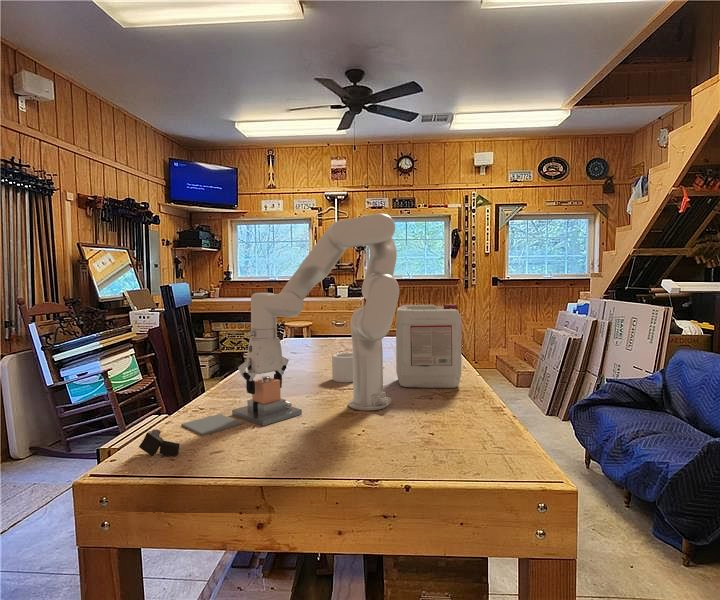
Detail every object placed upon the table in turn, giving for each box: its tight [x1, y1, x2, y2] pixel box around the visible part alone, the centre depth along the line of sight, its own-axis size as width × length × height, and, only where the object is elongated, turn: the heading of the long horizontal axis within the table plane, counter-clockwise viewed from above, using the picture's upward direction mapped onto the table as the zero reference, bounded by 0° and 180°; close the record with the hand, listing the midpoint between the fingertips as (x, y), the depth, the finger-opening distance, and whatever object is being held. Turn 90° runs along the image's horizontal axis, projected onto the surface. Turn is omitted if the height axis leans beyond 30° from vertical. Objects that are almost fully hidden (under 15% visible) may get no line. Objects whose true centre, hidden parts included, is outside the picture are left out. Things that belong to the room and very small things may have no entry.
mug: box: [331, 352, 353, 383], centre depth 185 cm, size 14×11×10 cm
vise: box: [231, 375, 303, 427], centre depth 140 cm, size 16×14×12 cm
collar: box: [251, 377, 282, 404], centre depth 140 cm, size 6×6×6 cm
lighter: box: [138, 429, 180, 457], centre depth 111 cm, size 9×2×6 cm
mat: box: [181, 413, 243, 437], centre depth 132 cm, size 12×12×1 cm
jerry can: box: [395, 303, 463, 389], centre depth 175 cm, size 24×19×30 cm
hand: (264, 390), depth 140 cm, fingers open, 9 cm apart
